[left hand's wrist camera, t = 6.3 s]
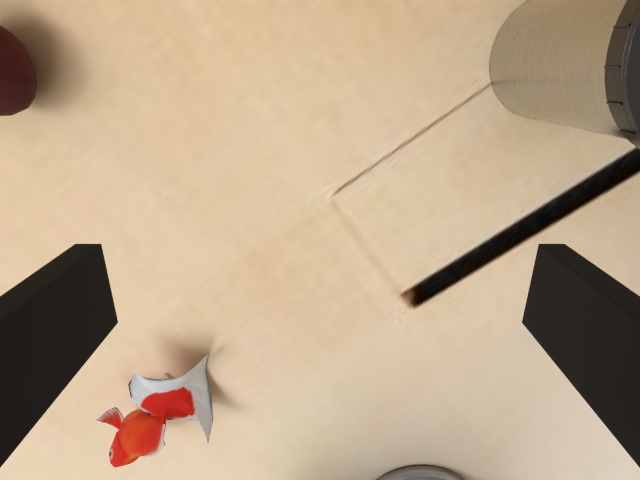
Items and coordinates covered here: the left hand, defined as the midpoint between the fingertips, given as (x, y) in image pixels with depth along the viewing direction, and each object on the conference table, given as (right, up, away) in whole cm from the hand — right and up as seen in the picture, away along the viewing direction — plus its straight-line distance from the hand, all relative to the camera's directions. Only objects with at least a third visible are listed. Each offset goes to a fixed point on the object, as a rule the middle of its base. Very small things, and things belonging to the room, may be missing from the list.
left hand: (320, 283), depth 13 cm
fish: (-18, -16, +37) cm, 44 cm away
